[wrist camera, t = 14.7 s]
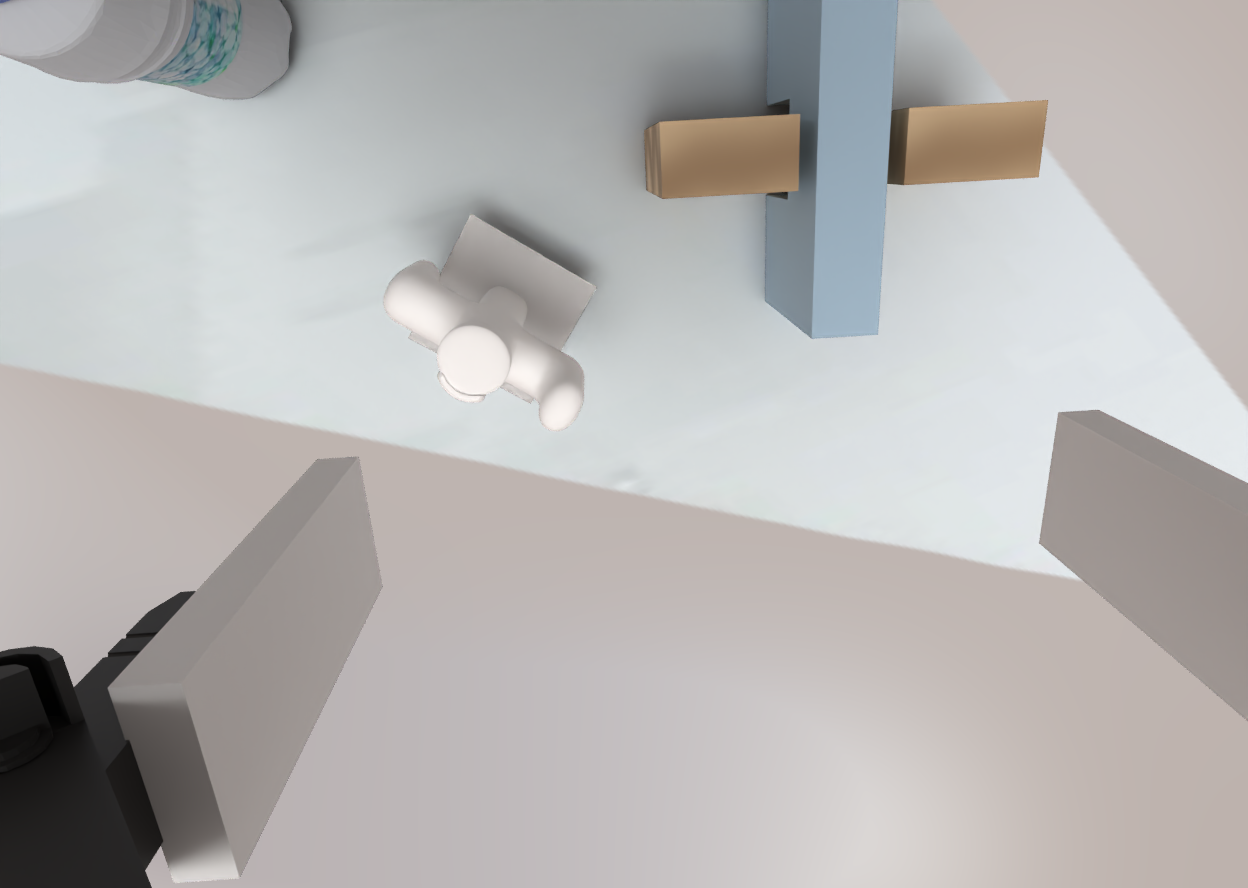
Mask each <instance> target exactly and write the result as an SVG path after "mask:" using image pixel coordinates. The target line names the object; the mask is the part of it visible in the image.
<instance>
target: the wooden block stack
mask: <svg viewBox="0 0 1248 888" xmlns="http://www.w3.org/2000/svg"><path fill="white" fill-rule="evenodd" d="M1047 105H1048V100H1042V101H1025V102H1006V103H988V104H970V105H952V106H934V107H916V108H905V109H899V110H893V111H891V125H890V142H889V158H888V175H887V184H898V185H912V184H930V183H947V182H965V181H982V180H1000V179H1017V178H1035V177H1039V170H1040V162H1041V154H1042V146H1043V137H1044V129H1045V121H1046V113H1047ZM644 141H645V166H646V190H647V191H649V192H651V193H652V194H654V195H656V196H658V197H660V198H662V199H668V198H685V197H703V196H720V195H738V194H755V193H773V192H790V191H798V186H799V143H800V114H789V115H771V116H753V117H735V118H717V119H699V120H681V121H663V122H658V123H657V124H655V125H653V126H651V127H650V128H648V129H646V130H644Z"/></svg>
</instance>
